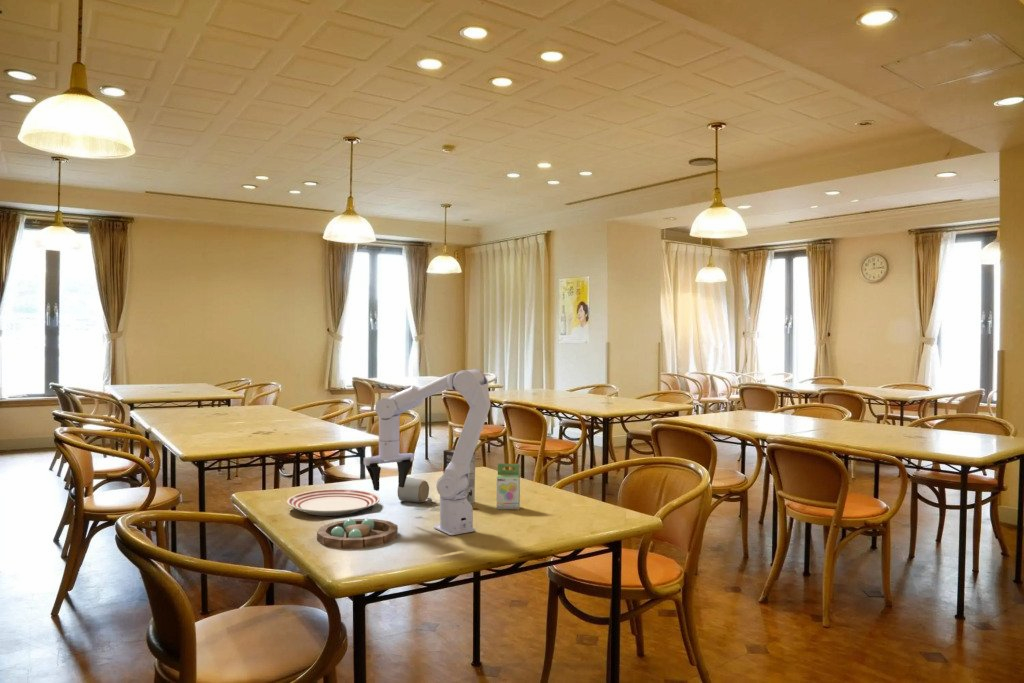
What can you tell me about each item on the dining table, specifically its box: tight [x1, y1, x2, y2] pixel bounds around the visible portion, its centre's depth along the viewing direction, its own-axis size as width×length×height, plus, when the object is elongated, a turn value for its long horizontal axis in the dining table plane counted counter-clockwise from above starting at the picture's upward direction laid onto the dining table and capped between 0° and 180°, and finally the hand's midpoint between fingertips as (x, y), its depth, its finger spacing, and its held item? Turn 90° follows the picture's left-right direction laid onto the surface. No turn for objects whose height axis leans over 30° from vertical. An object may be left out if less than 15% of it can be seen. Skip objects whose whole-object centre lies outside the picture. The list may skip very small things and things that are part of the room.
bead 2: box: [361, 518, 374, 531], centre depth 188 cm, size 3×3×3 cm
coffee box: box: [442, 448, 476, 504], centre depth 225 cm, size 9×6×16 cm
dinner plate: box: [286, 488, 381, 517], centre depth 216 cm, size 27×27×3 cm
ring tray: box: [316, 518, 399, 549], centre depth 183 cm, size 20×20×3 cm
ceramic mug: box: [397, 476, 430, 503], centre depth 226 cm, size 11×8×8 cm
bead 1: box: [343, 518, 356, 530], centre depth 188 cm, size 3×3×3 cm
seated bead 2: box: [348, 529, 362, 538], centre depth 178 cm, size 3×3×3 cm
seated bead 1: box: [331, 527, 345, 537], centre depth 180 cm, size 3×3×3 cm
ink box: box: [496, 463, 521, 511], centre depth 217 cm, size 7×4×13 cm, turn 87°
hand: (389, 488), depth 198 cm, fingers open, 7 cm apart
